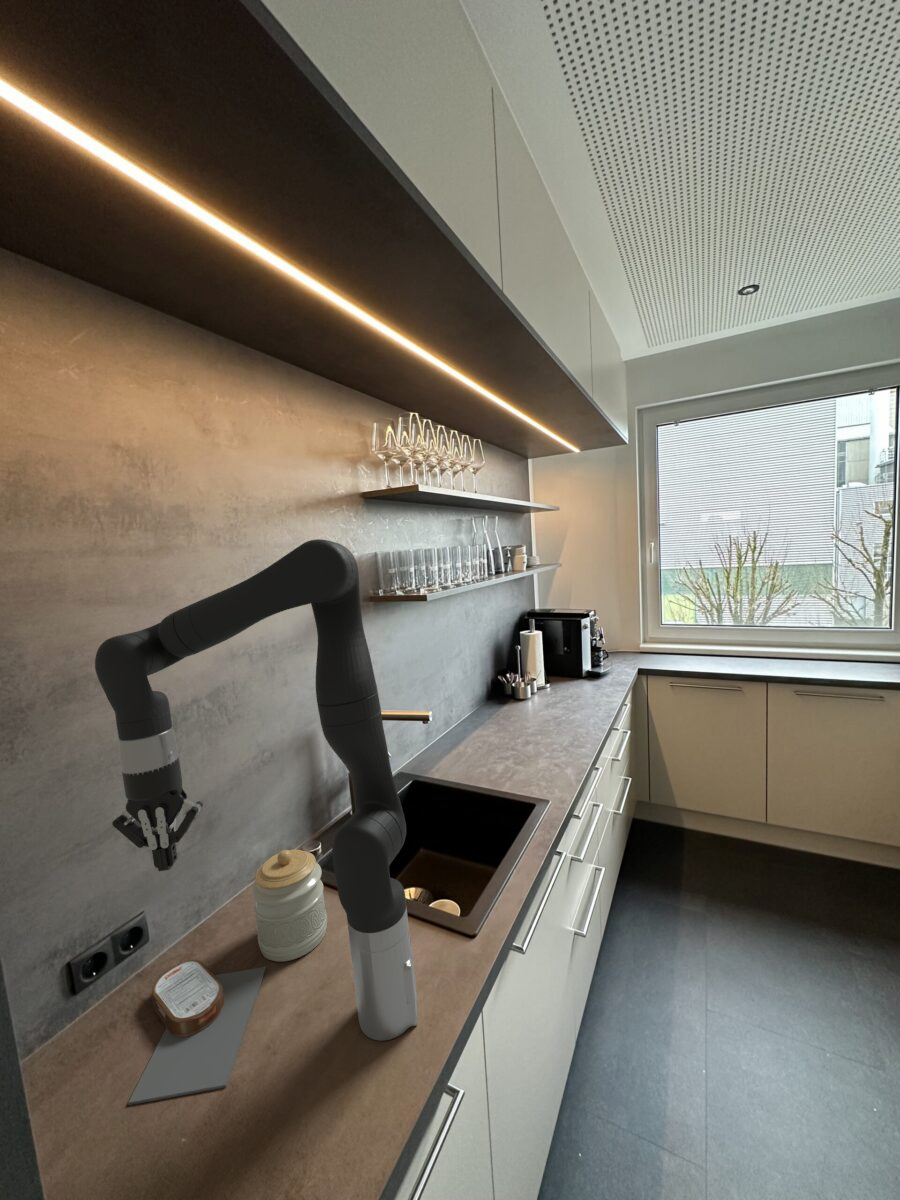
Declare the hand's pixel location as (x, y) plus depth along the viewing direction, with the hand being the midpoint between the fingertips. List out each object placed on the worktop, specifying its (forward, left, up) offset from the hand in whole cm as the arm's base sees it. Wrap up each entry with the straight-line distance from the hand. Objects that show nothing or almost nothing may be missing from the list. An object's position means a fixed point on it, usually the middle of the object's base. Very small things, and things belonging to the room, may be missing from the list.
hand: (166, 867), depth 75 cm
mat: (-3, +1, -27) cm, 27 cm away
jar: (-13, -16, -27) cm, 34 cm away
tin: (+5, -1, -25) cm, 25 cm away
